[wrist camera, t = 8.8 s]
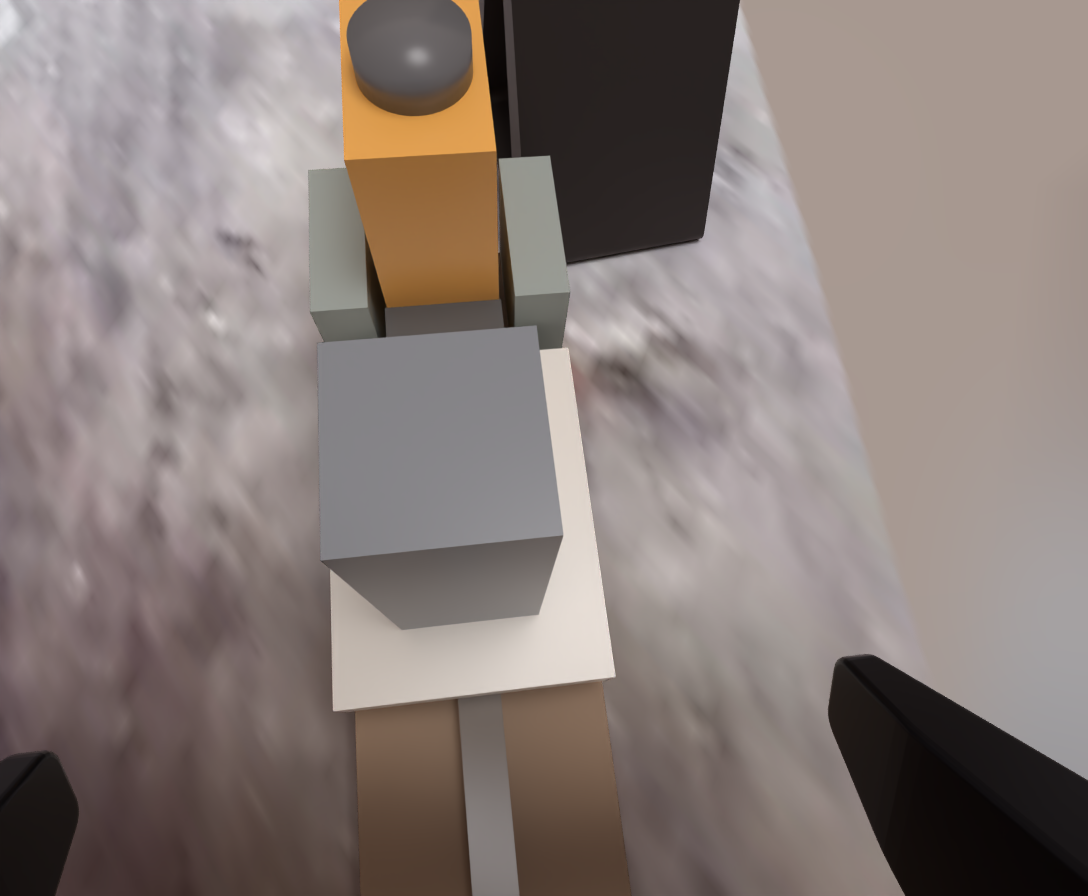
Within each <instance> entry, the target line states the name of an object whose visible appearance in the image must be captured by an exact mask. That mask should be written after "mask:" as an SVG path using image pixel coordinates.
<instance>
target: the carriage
mask: <svg viewBox="0 0 1088 896" xmlns="http://www.w3.org/2000/svg"><path fill="white" fill-rule="evenodd" d="M385 321H386V337H385V338H372V339H360V340H347V341H334V342H322V343H317V364H318V432H319V500H320V561H321V562H323V563H324V564H325V565H326V566H327V567H328V568H330V581H331V633H332V685H333V711H337V712H351V711H360V710H368V709H376V708H384V707H392V706H401V705H409V704H417V703H425V702H433V701H442V700H450V699H458V698H466V697H475V696H483V695H491V694H499V693H507V692H516V691H524V690H532V689H540V688H548V687H557V686H565V685H573V684H581V683H589V682H598V681H606V680H609V679H612V678H614V677H616V676H615V669H614V662H613V655H612V648H611V641H610V634H609V627H608V621H607V614H606V607H605V600H604V593H603V586H602V579H601V572H600V565H599V558H598V551H597V544H596V537H595V530H594V523H593V516H592V509H591V502H590V495H589V488H588V482H587V475H586V468H585V461H584V454H583V447H582V440H581V433H580V426H579V419H578V412H577V405H576V398H575V391H574V384H573V377H572V370H571V363H570V356H569V349H568V348H558V349H546V350H540V349H539V341H538V333H537V325H536V326H523V327H511V328H504V322H503V313H502V304H501V299H497V300H483V301H470V302H457V303H444V304H431V305H418V306H405V307H391V308H385Z"/></svg>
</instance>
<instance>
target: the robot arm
mask: <svg viewBox="0 0 1088 896" xmlns="http://www.w3.org/2000/svg"><path fill="white" fill-rule="evenodd" d="M828 717H829V722H830V726H831V729H832V732H833V734H834V737H835V739H836V742H837V744H838V746H839V749H840V751H841V754H842V756H843V759H844V761H845V763H846V766H847V768H848V771H849V773H850V776H851V778H852V780H853V783H854V785H855V788H856V790H857V793H858V795H859V797H860V800H861V802H862V805H863V807H864V810H865V812H866V814H867V817H868V819H869V822H870V824H871V827H872V829H873V831H874V834H875V836H876V838H877V841H878V843H879V845H880V847H881V850H882V852H883V854H884V856H885V858H886V860H887V862H888V864H889V866H890V868H891V870H892V872H893V874H894V876H895V877H896V879H897V881H898V883H899V885H900V887H901V889H902V891H903V892H904V894H905V896H1088V780H1086V779H1085V778H1083V777H1081V776H1080V775H1078V774H1076V773H1075V772H1073V771H1071V770H1069V769H1068V768H1066V767H1064V766H1063V765H1061V764H1059V763H1057V762H1056V761H1054V760H1052V759H1051V758H1049V757H1047V756H1046V755H1044V754H1042V753H1040V752H1039V751H1037V750H1035V749H1034V748H1032V747H1030V746H1028V745H1027V744H1025V743H1023V742H1022V741H1020V740H1018V739H1016V738H1015V737H1013V736H1011V735H1010V734H1008V733H1006V732H1005V731H1003V730H1001V729H1000V728H998V727H996V726H994V725H993V724H991V723H989V722H987V721H986V720H984V719H982V718H980V717H979V716H977V715H976V714H974V713H972V712H971V711H969V710H967V709H965V708H964V707H962V706H960V705H958V704H957V703H955V702H953V701H952V700H950V699H948V698H947V697H945V696H943V695H942V694H940V693H938V692H936V691H935V690H933V689H931V688H930V687H928V686H926V685H924V684H923V683H921V682H919V681H918V680H916V679H914V678H913V677H911V676H909V675H907V674H906V673H904V672H902V671H901V670H899V669H897V668H895V667H894V666H892V665H890V664H889V663H887V662H885V661H884V660H882V659H880V658H878V657H876V656H874V655H871V654H863V655H855V656H846V657H842V658H840V659H838V660H837V662H836V663H835V667H834V672H833V679H832V685H831V692H830V699H829V705H828ZM78 816H79V807H78V801H77V798H76V796H75V794H74V791H73V789H72V787H71V784H70V782H69V780H68V778H67V775H66V773H65V771H64V768H63V766H62V764H61V762H60V759H59V758H58V756H57V755H56V754H55V753H53V752H52V751H47V750H43V751H35V752H26V753H18V754H14V755H11V756H9V757H7V758H5V759H4V760H2V761H1V762H0V896H55V894H56V891H57V888H58V885H59V882H60V878H61V875H62V872H63V869H64V865H65V862H66V859H67V856H68V853H69V849H70V846H71V843H72V840H73V836H74V833H75V830H76V827H77V823H78Z"/></svg>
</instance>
